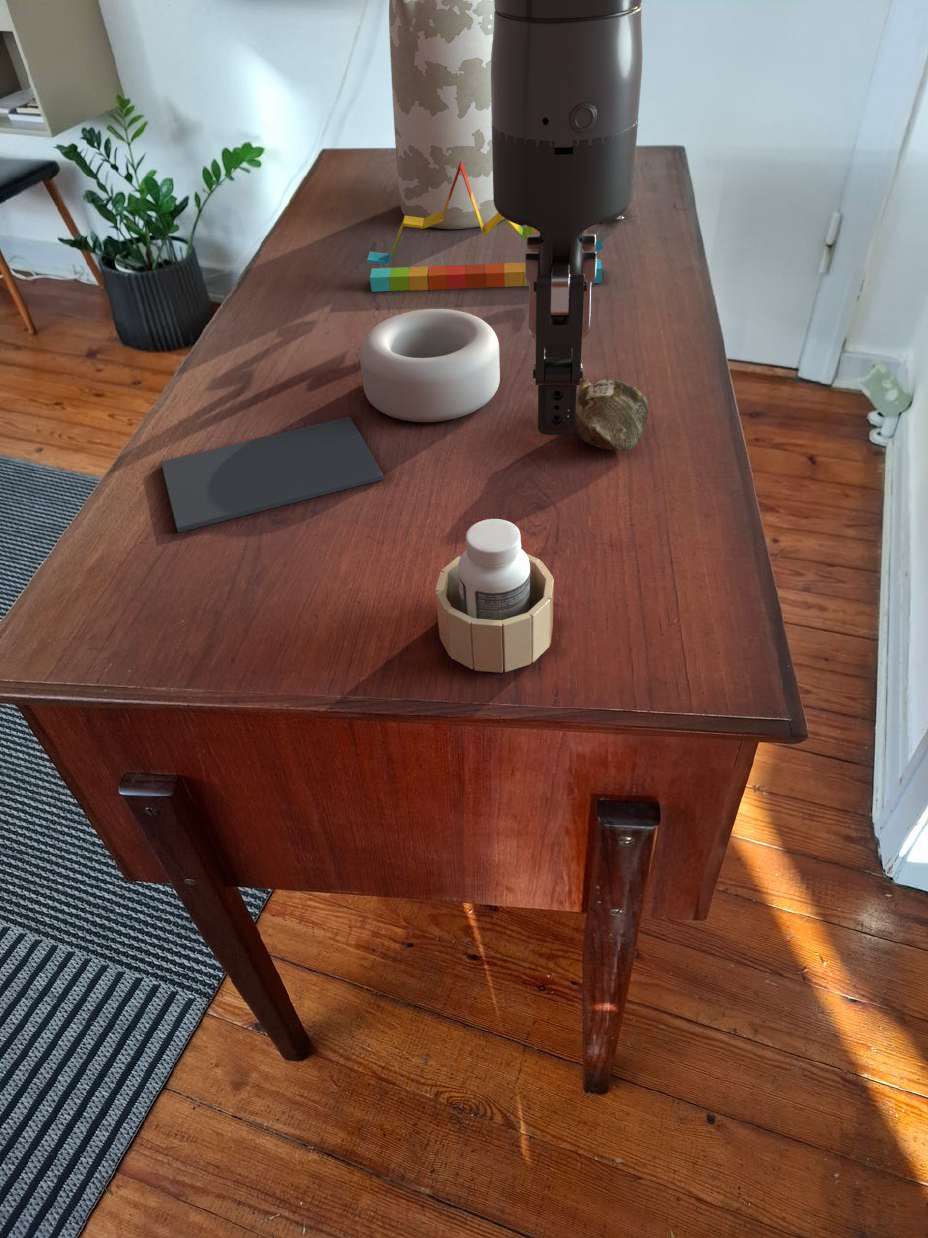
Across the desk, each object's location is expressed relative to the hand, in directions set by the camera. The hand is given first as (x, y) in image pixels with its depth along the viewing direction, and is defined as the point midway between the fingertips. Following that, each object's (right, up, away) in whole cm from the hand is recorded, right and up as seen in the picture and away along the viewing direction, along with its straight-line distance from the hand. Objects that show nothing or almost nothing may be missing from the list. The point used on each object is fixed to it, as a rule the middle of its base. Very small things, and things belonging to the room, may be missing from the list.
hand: (557, 395), depth 57 cm
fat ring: (-9, +11, +42) cm, 45 cm away
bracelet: (-3, -15, +14) cm, 21 cm away
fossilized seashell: (+8, +4, +34) cm, 35 cm away
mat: (-25, 0, +32) cm, 41 cm away
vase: (-7, +49, +82) cm, 96 cm away
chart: (-3, +31, +62) cm, 69 cm away
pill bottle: (-3, -15, +14) cm, 21 cm away
